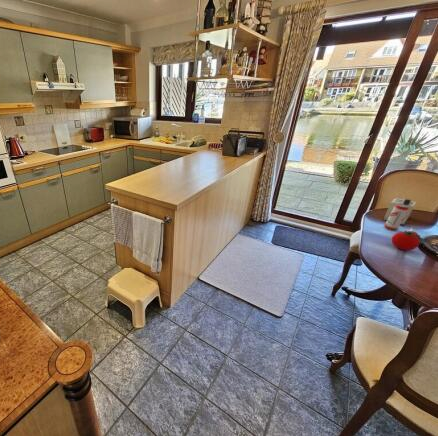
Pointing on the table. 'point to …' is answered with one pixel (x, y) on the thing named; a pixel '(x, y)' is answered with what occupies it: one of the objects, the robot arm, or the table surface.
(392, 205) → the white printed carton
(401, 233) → the tomato
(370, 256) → the table surface
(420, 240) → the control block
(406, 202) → the slider
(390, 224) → the beer can
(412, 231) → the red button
